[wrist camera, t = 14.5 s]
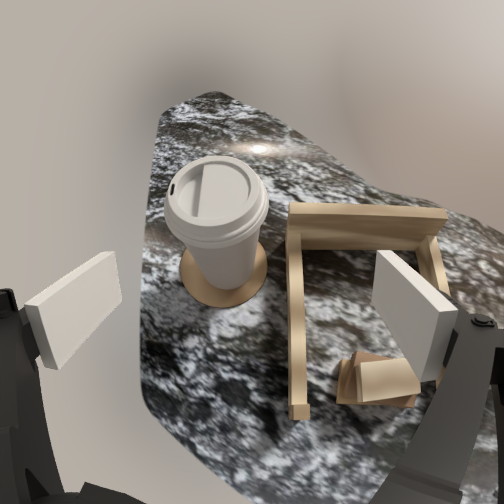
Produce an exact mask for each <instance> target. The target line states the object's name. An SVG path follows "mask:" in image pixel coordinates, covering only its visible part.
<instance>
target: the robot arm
mask: <svg viewBox="0 0 504 504" xmlns="http://www.w3.org/2000/svg"><path fill="white" fill-rule="evenodd" d="M121 302H122V295H121V289H120V283H119V277H118V271H117V264H116V257H115V252H101V253H100V254H98V255H96V256H95V257H93V258H92V259H90V260H89V261H87V262H85V263H84V264H82V265H81V266H79V267H78V268H76V269H75V270H73V271H72V272H70V273H69V274H67V275H66V276H64V277H63V278H61V279H60V280H58V281H57V282H55V283H54V284H52V285H51V286H49V287H48V288H46V289H45V290H43V291H42V292H40V293H39V294H38V295H36V296H35V297H33V298H32V299H30V300H29V301H28V302H26V303H25V304H24V307H23V308H22V309H21V310H19V311H18V307H17V304H16V300H15V297H14V293H13V290H12V289H6V288H5V289H0V504H146V503H143V502H141V501H139V500H137V499H135V498H133V497H131V496H129V495H127V494H125V493H121V492H117V491H114V490H110V489H107V488H103V487H100V486H97V485H93V484H90V483H87V482H85V483H84V485H83V487H82V489H81V491H80V493H78V492H75V493H74V492H66V493H65V492H64V489H63V486H62V483H61V480H60V476H59V473H58V469H57V466H56V462H55V458H54V455H53V450H52V447H51V442H50V438H49V433H48V428H47V423H46V418H45V412H44V407H43V401H42V394H41V387H40V379H39V371H38V366H37V363H36V361H35V359H36V358H37V357H38V356H39V355H40V356H41V358H42V361H43V364H44V366H45V367H46V368H51V369H55V370H59V369H60V368H61V367H62V366H63V365H64V364H65V363H66V362H67V360H68V359H69V358H70V357H71V356H72V355H73V353H74V352H75V351H76V350H77V349H78V348H79V347H80V346H81V345H82V344H83V342H84V341H85V340H86V339H87V338H88V337H89V336H90V335H91V334H92V333H93V331H94V330H95V329H96V328H97V327H98V326H99V325H100V324H101V323H102V322H103V320H105V318H106V317H107V316H108V315H109V314H110V313H111V312H112V311H113V310H114V309H115V307H117V306H118V305H119V304H120V303H121ZM371 303H372V304H373V306H374V307H375V309H376V310H377V312H378V314H379V315H380V317H381V318H382V320H383V321H384V323H385V325H386V326H387V328H388V330H389V331H390V333H391V334H392V336H393V338H394V339H395V341H396V343H397V344H398V346H399V348H400V349H401V351H402V353H403V354H404V356H405V358H406V359H407V361H408V363H409V364H410V366H411V368H412V370H413V371H414V373H415V375H416V376H417V378H418V380H419V382H425V381H431V380H437V379H438V378H439V375H440V372H441V369H442V366H444V367H445V372H444V374H443V376H442V379H441V381H440V383H439V386H438V388H437V390H436V392H435V395H434V397H433V399H432V401H431V403H430V405H429V407H428V409H427V411H426V413H425V415H424V417H423V419H422V421H421V423H420V425H419V427H418V429H417V431H416V433H415V434H414V436H413V438H412V440H411V442H410V443H409V445H408V447H407V449H406V450H405V452H404V454H403V456H402V457H401V459H400V461H399V462H398V464H397V465H396V467H395V468H393V469H392V471H391V472H390V473H389V475H388V476H387V478H386V479H385V481H384V482H383V484H382V485H381V487H380V488H379V490H378V491H377V492H376V494H375V495H374V497H373V498H372V499H371V501H370V502H369V503H368V504H460V502H461V499H462V491H459V487H460V484H461V482H462V479H463V477H464V474H465V471H466V468H467V466H468V463H469V460H470V457H471V454H472V451H473V448H474V444H475V441H476V438H477V434H478V431H479V427H480V423H481V420H482V416H483V412H484V407H485V403H486V399H487V394H488V389H489V385H491V386H492V393H493V400H494V408H495V418H496V428H497V443H498V504H504V329H498V326H497V323H496V322H495V321H494V320H493V319H492V318H490V317H488V316H485V315H482V314H469V313H468V312H467V311H465V310H464V309H463V308H462V307H461V306H460V305H459V304H458V303H457V302H456V301H455V300H453V299H452V298H451V297H450V296H449V295H448V294H447V293H445V292H443V291H441V290H439V289H435V288H434V287H433V286H432V285H431V284H430V283H429V282H427V281H426V280H425V279H424V278H423V277H422V276H421V275H420V274H418V273H417V272H416V271H415V270H414V269H413V268H411V267H410V266H409V265H408V264H407V263H406V262H404V261H403V260H402V259H401V258H400V257H399V256H397V255H396V254H395V253H394V252H393V251H391V250H377V255H376V265H375V275H374V284H373V292H372V300H371Z"/></svg>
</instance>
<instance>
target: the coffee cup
mask: <svg viewBox="0 0 504 504" xmlns="http://www.w3.org/2000/svg"><path fill="white" fill-rule="evenodd" d="M268 206H269V199H268V194H267V191H266V189H265V186H264V184H263V182H262V181H261V179H260V178H259V176H258V175H257V174H256V173H255V172H254V171H253V170H252V169H251V168H250V167H249V166H248V165H247V164H246V163H244V162H242V161H240V160H238V159H236V158H232V157H228V156H209V157H204V158H200V159H198V160H195V161H193V162H191V163H189V164H187V165H186V166H184V167H183V168H182V169H181V170H180V171H179V172H178V173H177V174H176V175H175V176H174V178H173V179H172V181H171V183H170V186H169V189H168V191H167V194H166V197H165V202H164V216H165V220H166V223H167V225H168V227H169V229H170V230H171V232H172V233H173V234H174V235H175V236H176V237H177V238H178V239H180V240H181V241H183V242H184V244H185V246H186V247H187V249H188V251H189V252H190V254H191V256H192V257H193V259H194V261H195V262H196V264H197V266H198V267H199V269H200V270H201V272H202V274H203V275H204V277H205V279H206V280H207V281H208V282H209V283H210V284H211V285H212V286H214V287H216V288H219V289H224V290H230V289H235V288H238V287H240V286H242V285H243V284H245V283H246V282H247V281H248V280H249V279H250V277H251V275H252V273H253V270H254V263H255V257H256V250H257V244H258V237H259V231H260V226H261V224H262V223H263V221H264V219H265V217H266V215H267V212H268Z"/></svg>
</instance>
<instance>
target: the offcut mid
mask: <svg viewBox="0 0 504 504" xmlns="http://www.w3.org/2000/svg"><path fill="white" fill-rule="evenodd" d="M390 359H393V358H388V357H383V356H379V355H374V354H369V353H365V352H360V351H356V352H355V353H353V354H352V357H351V362H350V366H349V371H348V375H347V379H346V383H345V387H344V391H343V395H342V397H344V398H349V399H354V400H357V385H356V369H355V365H357V364H359V363H363V362H373V361H382V360H390ZM415 399H416V394H412V395H406V396H400V397H394V398H388V399H381V400H374V401H366V402H370V403H375V404H381V405H387V406H393V407H400V408H414V404H415Z"/></svg>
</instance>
